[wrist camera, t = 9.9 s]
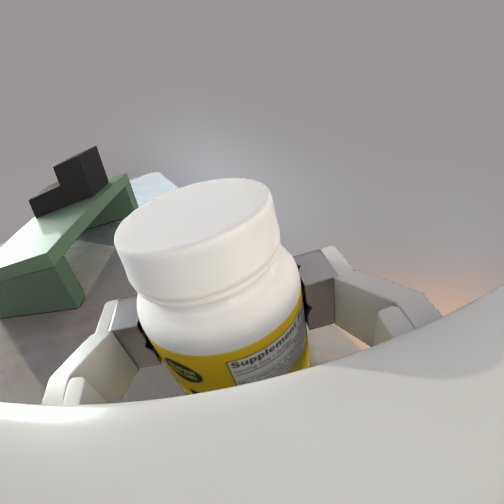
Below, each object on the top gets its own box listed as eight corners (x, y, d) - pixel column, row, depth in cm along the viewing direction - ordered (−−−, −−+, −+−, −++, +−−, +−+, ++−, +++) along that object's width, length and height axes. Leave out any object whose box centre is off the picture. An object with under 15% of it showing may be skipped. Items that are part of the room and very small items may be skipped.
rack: (-1, 318, 20) (-28, 277, 17) (68, 231, 35) (54, 199, 32) (78, 308, 19) (46, 252, 16) (140, 209, 34) (126, 172, 32)
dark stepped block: (36, 218, 27) (21, 183, 24) (54, 203, 30) (41, 171, 28) (93, 196, 26) (78, 155, 24) (109, 182, 30) (96, 145, 27)
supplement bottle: (183, 385, 12) (91, 222, 8) (266, 334, 14) (223, 164, 10) (240, 465, 9) (116, 300, 4) (336, 393, 10) (332, 189, 6)
